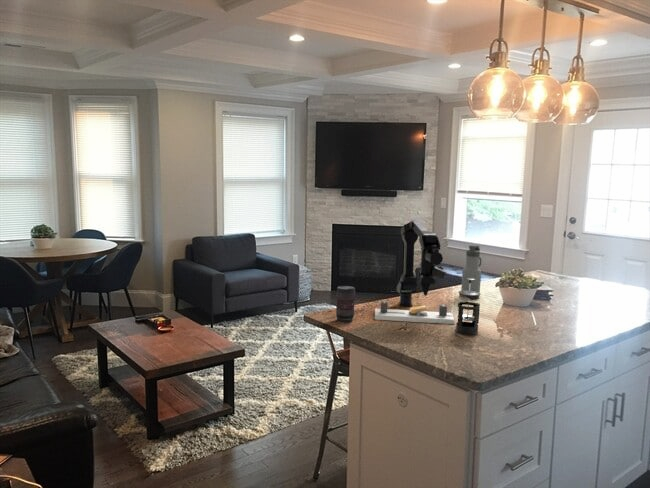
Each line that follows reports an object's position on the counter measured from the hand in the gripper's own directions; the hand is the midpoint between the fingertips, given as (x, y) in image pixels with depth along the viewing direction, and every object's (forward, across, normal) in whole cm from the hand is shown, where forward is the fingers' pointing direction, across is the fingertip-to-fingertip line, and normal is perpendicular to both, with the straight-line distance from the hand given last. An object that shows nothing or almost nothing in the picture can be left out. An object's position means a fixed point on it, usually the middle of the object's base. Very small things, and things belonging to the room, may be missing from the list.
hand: (425, 295), depth 247 cm
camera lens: (+11, -11, +35) cm, 39 cm away
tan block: (+7, 0, +3) cm, 7 cm away
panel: (+11, 0, +5) cm, 12 cm away
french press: (+11, -17, -17) cm, 26 cm away
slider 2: (+8, 0, -8) cm, 12 cm away
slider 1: (+8, 0, +18) cm, 20 cm away
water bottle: (+11, +52, -29) cm, 60 cm away
